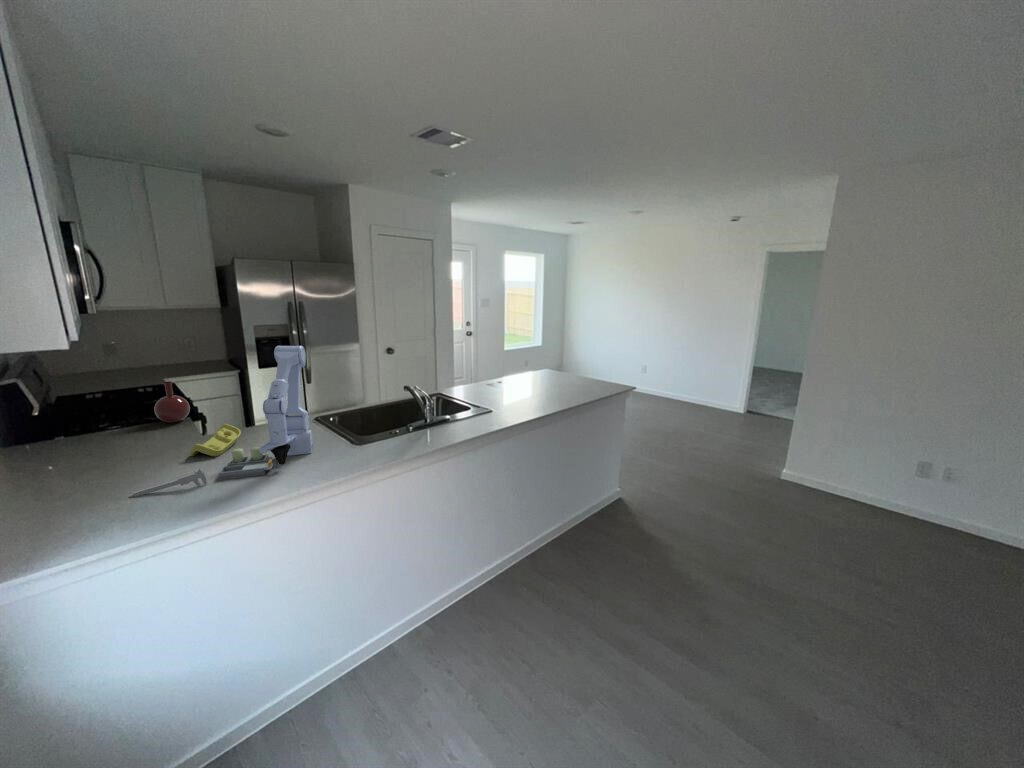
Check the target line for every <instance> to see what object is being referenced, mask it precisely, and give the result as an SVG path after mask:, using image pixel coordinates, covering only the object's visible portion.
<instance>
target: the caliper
mask: <svg viewBox="0 0 1024 768" xmlns="http://www.w3.org/2000/svg"><path fill="white" fill-rule="evenodd" d="M199 479H201V481H202V483H203V485H204V486H207V484H208V480H207V476H206V474H205V472H204V471H203V470H201V469H200V468H199V469H198V470H196V469H195V470H194V471H193V473H190V474H187V475H184V476H181V477H178V478H177V479H174V480H170V481H168V482H164V483H161V484H158V485H154V486H150V487H146V488H144V489H140V490H138V491H137V490H136V491H134V492H132V493H131V494H130V495H129V496H128V498H132V497H140V496H143V495H148V494H150V493H153V492H157V491H160V490H164V489H167V488H171V487H174V486H177V485H180V486H184V485H188V484H190V483H194V484H195V485H196V486H197V487H201V486H202V484H201V482H200V480H199Z"/></svg>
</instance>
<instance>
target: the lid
mask: <svg viewBox="0 0 1024 768" xmlns="http://www.w3.org/2000/svg"><path fill="white" fill-rule="evenodd" d="M273 465H274V462H273V458H272V459H269V461H268V463H265V464H255V465H246V466H244V468H243V469H242V470H247V469H256V468H264V470H267V471H269V470H271V469H272V468H273Z"/></svg>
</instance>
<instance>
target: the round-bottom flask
mask: <svg viewBox="0 0 1024 768" xmlns="http://www.w3.org/2000/svg"><path fill="white" fill-rule="evenodd" d="M163 385H164V389H165V394H166V396H163V397H161V398H160V399H158V400H157V401H156V403H155V405H154V410H153V411H154V414H155V416H156V417H157V418H158V419H159V420H161V421H162V422H166V423H178V422H180V421H182V420H184V419H185V418H187V417H188V415H189V414H190V411H191V407H190V404H189V402H188V400H187V399H185V397H182V396H179V395H174V391H173V381H171V380H170V381H163Z"/></svg>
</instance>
